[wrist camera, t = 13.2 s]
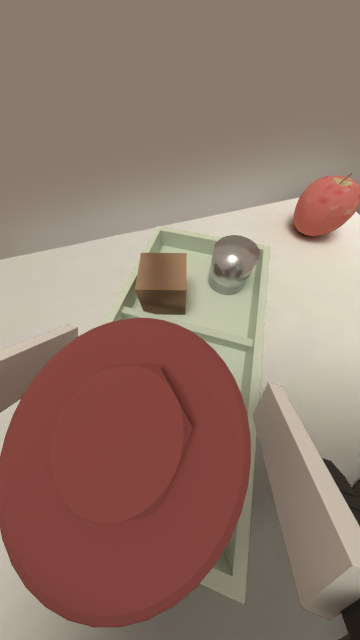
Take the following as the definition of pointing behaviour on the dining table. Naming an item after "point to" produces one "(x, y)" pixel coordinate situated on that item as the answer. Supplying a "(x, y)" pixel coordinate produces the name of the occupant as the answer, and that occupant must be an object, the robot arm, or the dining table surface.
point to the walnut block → (162, 283)
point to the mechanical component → (124, 472)
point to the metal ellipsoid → (232, 264)
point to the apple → (326, 205)
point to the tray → (231, 345)
